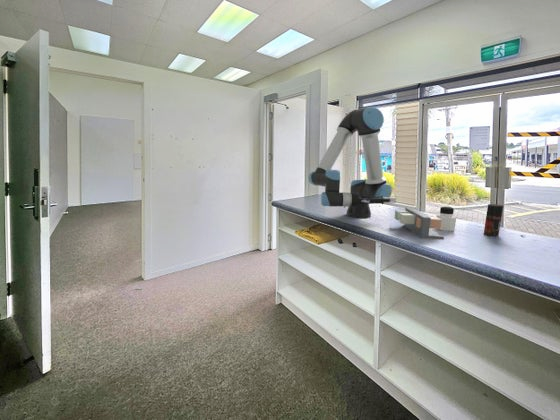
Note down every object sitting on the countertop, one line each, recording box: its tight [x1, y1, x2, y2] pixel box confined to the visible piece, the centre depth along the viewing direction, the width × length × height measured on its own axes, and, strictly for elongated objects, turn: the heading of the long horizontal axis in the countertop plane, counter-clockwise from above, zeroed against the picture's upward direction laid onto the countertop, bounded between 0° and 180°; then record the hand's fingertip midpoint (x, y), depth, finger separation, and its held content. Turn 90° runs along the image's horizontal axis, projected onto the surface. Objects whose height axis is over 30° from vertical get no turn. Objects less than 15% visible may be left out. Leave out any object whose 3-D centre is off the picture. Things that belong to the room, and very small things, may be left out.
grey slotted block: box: [403, 207, 445, 240], centre depth 145 cm, size 10×25×10 cm, turn 175°
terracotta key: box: [416, 216, 442, 230], centre depth 137 cm, size 10×4×4 cm, turn 85°
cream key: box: [398, 213, 416, 225], centre depth 145 cm, size 10×4×4 cm, turn 85°
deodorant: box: [483, 203, 504, 237], centre depth 139 cm, size 6×6×15 cm
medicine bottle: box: [436, 205, 457, 232], centre depth 150 cm, size 7×7×12 cm
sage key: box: [394, 209, 410, 221], centre depth 153 cm, size 10×4×4 cm, turn 85°
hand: (395, 200), depth 151 cm, fingers closed
